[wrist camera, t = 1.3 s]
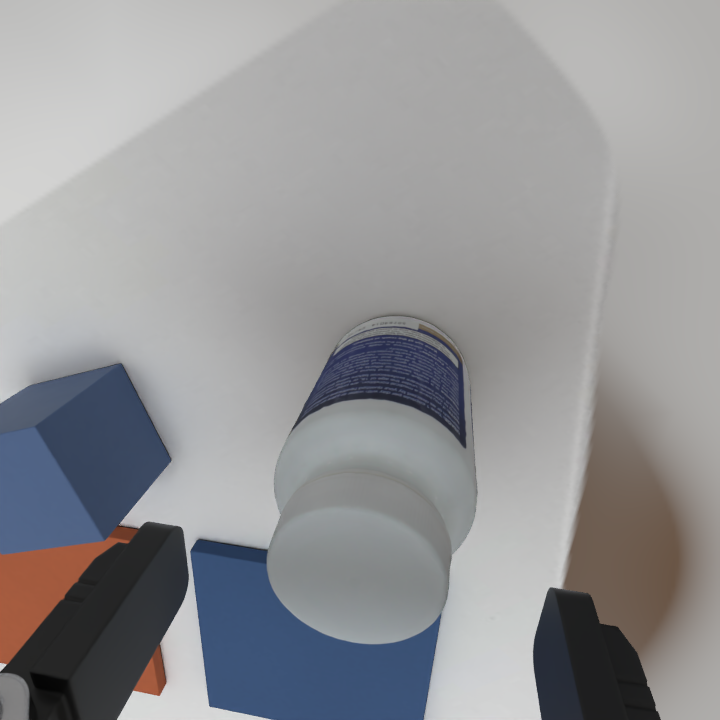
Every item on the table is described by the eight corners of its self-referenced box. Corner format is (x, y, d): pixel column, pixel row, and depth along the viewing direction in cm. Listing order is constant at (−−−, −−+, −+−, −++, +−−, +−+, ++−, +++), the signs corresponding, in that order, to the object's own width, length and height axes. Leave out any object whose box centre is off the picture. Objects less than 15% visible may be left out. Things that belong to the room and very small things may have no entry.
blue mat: (197, 538, 25) (189, 551, 24) (445, 580, 24) (444, 594, 23) (214, 692, 30) (208, 706, 30) (419, 734, 29) (418, 750, 28)
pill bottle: (306, 337, 20) (189, 511, 11) (441, 291, 18) (430, 451, 9) (360, 452, 21) (296, 679, 13) (487, 419, 20) (514, 653, 11)
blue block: (28, 385, 23) (-75, 450, 18) (121, 362, 22) (34, 426, 17) (83, 476, 25) (0, 555, 20) (172, 460, 23) (105, 541, 19)
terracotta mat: (-74, 493, 27) (-89, 503, 26) (139, 529, 26) (130, 541, 25) (-15, 645, 32) (-25, 658, 31) (166, 683, 31) (159, 696, 30)
